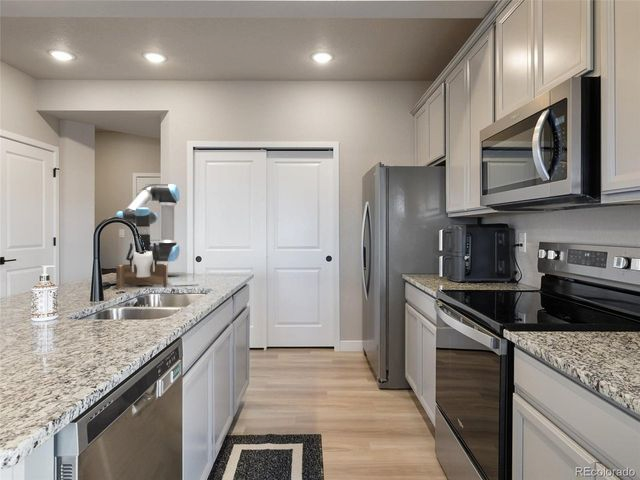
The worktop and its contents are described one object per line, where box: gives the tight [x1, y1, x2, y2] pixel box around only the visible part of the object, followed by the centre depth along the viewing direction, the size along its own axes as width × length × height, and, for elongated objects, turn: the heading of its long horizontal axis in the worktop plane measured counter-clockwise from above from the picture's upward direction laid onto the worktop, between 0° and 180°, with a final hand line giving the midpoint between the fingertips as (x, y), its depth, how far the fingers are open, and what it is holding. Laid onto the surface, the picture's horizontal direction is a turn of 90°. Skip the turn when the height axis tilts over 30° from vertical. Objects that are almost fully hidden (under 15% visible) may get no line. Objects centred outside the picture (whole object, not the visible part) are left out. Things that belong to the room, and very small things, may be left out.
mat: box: [170, 280, 199, 287], centre depth 226 cm, size 15×15×1 cm
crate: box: [115, 263, 169, 290], centre depth 220 cm, size 17×26×13 cm, turn 109°
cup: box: [132, 250, 153, 277], centre depth 220 cm, size 11×11×15 cm
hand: (143, 271), depth 220 cm, fingers closed on cup, 10 cm apart
